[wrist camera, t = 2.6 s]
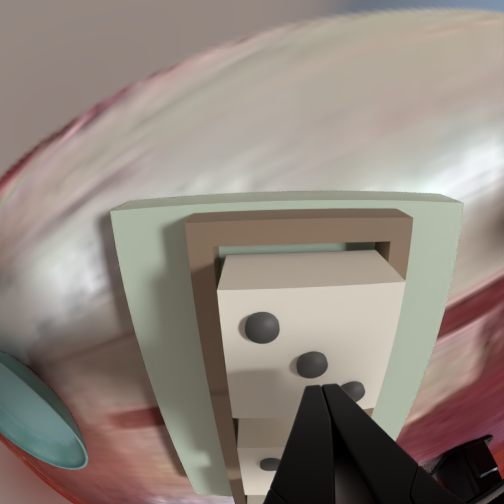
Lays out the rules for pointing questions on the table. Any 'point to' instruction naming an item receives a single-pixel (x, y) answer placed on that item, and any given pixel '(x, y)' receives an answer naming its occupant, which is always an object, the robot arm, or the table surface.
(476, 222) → the table surface
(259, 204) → the board
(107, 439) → the table surface
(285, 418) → the two-pip key
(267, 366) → the three-pip key
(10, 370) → the saucer
